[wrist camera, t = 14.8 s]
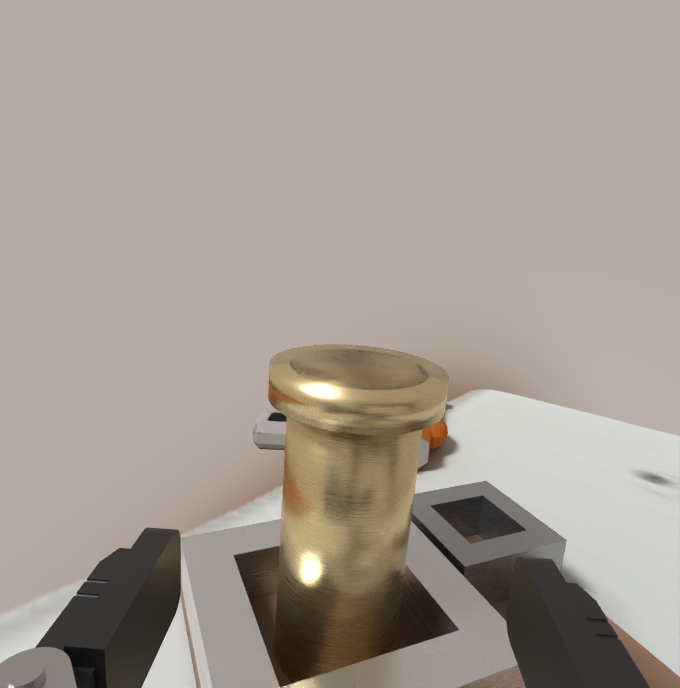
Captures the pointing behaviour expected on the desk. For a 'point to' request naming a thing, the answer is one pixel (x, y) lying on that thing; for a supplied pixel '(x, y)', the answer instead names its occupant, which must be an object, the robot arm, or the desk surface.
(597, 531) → the desk surface
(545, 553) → the grey square ring
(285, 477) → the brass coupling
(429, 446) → the toy gun
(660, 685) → the walnut board
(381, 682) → the wide steel port
